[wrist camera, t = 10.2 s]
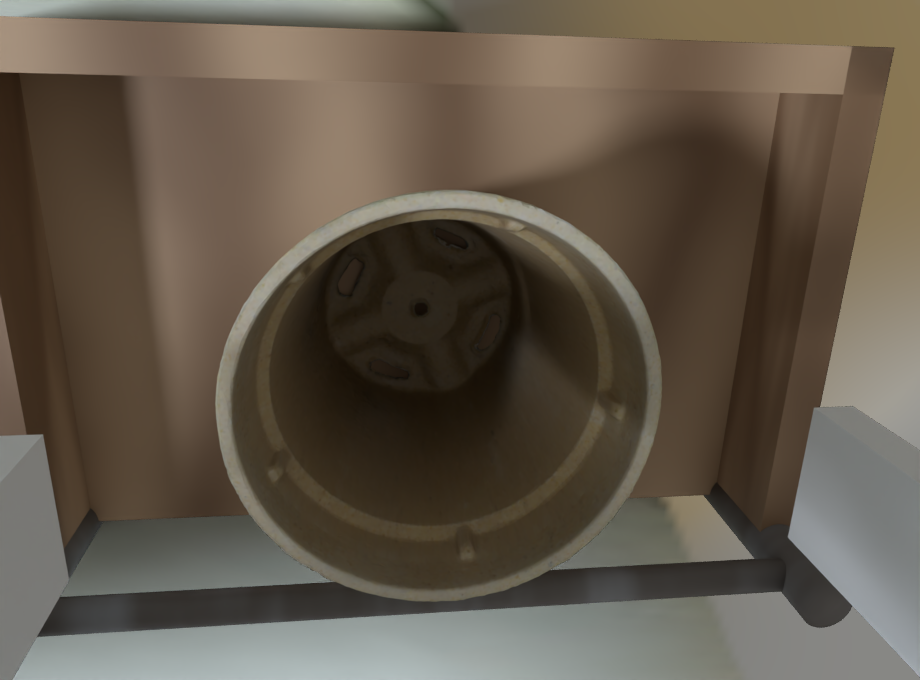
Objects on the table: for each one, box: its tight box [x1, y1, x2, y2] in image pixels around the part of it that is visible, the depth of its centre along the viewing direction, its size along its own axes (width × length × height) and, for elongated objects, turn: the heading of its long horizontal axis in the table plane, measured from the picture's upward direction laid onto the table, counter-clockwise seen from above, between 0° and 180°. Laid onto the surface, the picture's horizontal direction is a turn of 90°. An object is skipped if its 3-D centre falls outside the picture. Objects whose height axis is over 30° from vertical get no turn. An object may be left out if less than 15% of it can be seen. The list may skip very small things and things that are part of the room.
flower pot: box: [215, 190, 662, 602], centre depth 19 cm, size 9×9×9 cm
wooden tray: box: [0, 16, 894, 637], centre depth 21 cm, size 25×16×7 cm, turn 89°
